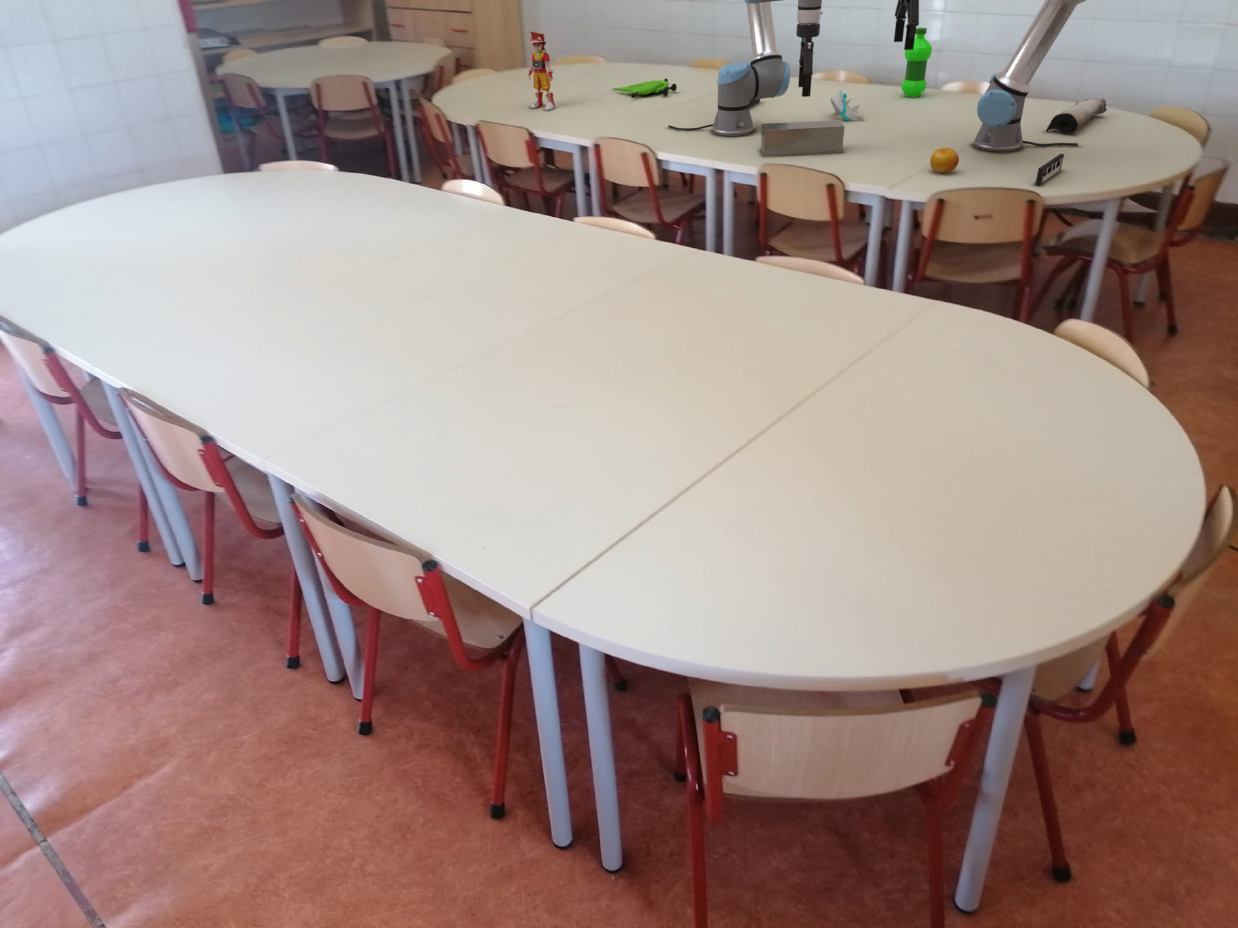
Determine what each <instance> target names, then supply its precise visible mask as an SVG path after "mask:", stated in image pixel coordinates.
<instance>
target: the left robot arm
mask: <svg viewBox="0 0 1238 928" xmlns="http://www.w3.org/2000/svg"><path fill="white" fill-rule="evenodd" d="M743 1H744V2H745V4H746V10H747V18H748V25H749V33H750V41H751V47H752V55H753V56H752V58H751V60H750V62H749V61H735V62H730V63H727V64H724V65H723V66H722V67H720V68H719V70H718V75H717V82H716V83H717V111H716V114H715V118H714V120H713V123H711V124H707V125H703V126H702V125H701V126H699V127H697V126H696V127H677V126H673V125H671V124H668V128H671V129H674V130H677V131H697V130H702V129H703V130H704V129H706V128H710V127H712V133H713V134H715V135H717V136H721V137H741V136H746V135H750V134H752V133H754V127H755V126H754V122H753V118H752V115H751V111H750V107H749V101H750V100H756V99H760V100H765V99H770V98H771V99H774V98H777V97H782V96H784V94H786V93H787V91H788V89H789V85H790V82H791V67H790V64H789V63H788V62H787V61H785V60H783V56H782V54H781V53H779V52H778V49H777V42H776V35H775V26H774V19H773V10H772V3H771V2H779V1H780V2H781V1H783V0H743ZM822 5H823V0H797V14H796V22H797V23H796V31H795V32H796V33H795V36H796V37H798V38H801V41H800V50H799V51H800V53H799V60H798V62H799V65H798V66H799V70H798V83H797V85H798V88H802V89H801V97H802V98H805V97H806V98H807V97H811V94H812V93H811V91H812V90H811V89H812V78H813V77H812V76H813V74H814V72H813V71H814V70H813V69H814V68H813V67H814V66H813V65H814V56H813V55H814V47H815V43H814V41H813V38H816V37H819V36H820V31H821V23H820V22H821V15H823V13H824V11H823V10H822Z"/></svg>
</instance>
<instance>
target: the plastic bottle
mask: <svg viewBox="0 0 1238 928" xmlns="http://www.w3.org/2000/svg"><path fill="white" fill-rule="evenodd" d="M927 30H928V28H927V27H916V32H915V40H914V48H913V50H904V58H905V59H906V68H905V74H904V75H905V76H904V79H903V81H902V83H901V91H902V92H903V94H904V95H906V96H905V97H908V98H917V97H920V96H921V95H922V94H923V93H924V92H925V90H926V88H927V80H926V73H927V65H928V61H929V59H930V58H931V56H932V53H933V47H932V46H933V45H932V44H931V43H930V41H928V39H926V38H925V35H926V34H927V32H928V31H927Z"/></svg>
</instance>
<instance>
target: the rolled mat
mask: <svg viewBox="0 0 1238 928" xmlns="http://www.w3.org/2000/svg"><path fill="white" fill-rule="evenodd" d="M1107 110H1108V109H1107V101H1106V99H1105V98H1098V97H1091V98H1087V99H1079V100H1078V101H1076V102H1075V104H1074V105H1072V106H1071V107H1068V108H1067V109H1065V110H1063V111H1061V112H1059V113H1058V114H1056V115H1054V116H1053V117H1052V119H1050V122H1049V124H1048V126H1047V127H1046V129H1045V132H1049V131H1051V130H1057V131H1058V132H1059V133H1062V134H1065V135H1066V134H1067V135H1073V134H1074V133H1076V132H1077V131H1078V130H1079V129H1080V128H1081V127H1082V126H1083V125H1084V124H1085V123H1086V122H1087V121H1088V120H1089V119H1091V118H1092V117H1094V116H1096V115H1102V114H1104V113H1106V112H1107Z"/></svg>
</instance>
